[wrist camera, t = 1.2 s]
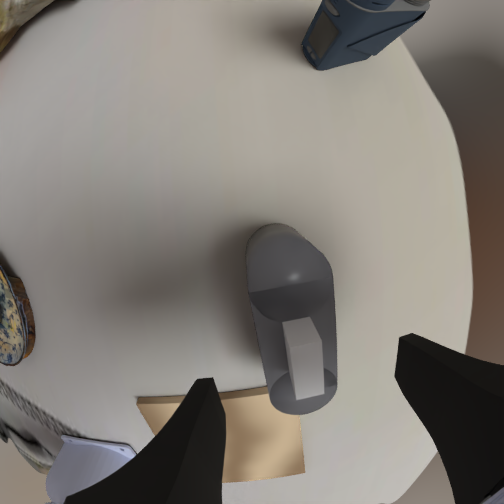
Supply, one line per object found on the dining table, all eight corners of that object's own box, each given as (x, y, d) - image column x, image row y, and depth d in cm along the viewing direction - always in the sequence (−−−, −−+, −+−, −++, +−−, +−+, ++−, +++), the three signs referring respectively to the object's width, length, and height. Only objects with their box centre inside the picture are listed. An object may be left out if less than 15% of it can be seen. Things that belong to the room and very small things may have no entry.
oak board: (189, 477, 21) (188, 483, 21) (138, 397, 18) (136, 403, 18) (303, 466, 21) (305, 472, 21) (294, 381, 18) (296, 388, 18)
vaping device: (291, 42, 13) (357, -106, 1) (360, 28, 13) (460, -73, 1) (311, 76, 14) (418, -58, 2) (379, 58, 13) (504, -26, 2)
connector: (266, 367, 18) (277, 447, 11) (240, 229, 16) (240, 265, 9) (316, 357, 18) (347, 431, 11) (302, 218, 16) (346, 246, 9)
